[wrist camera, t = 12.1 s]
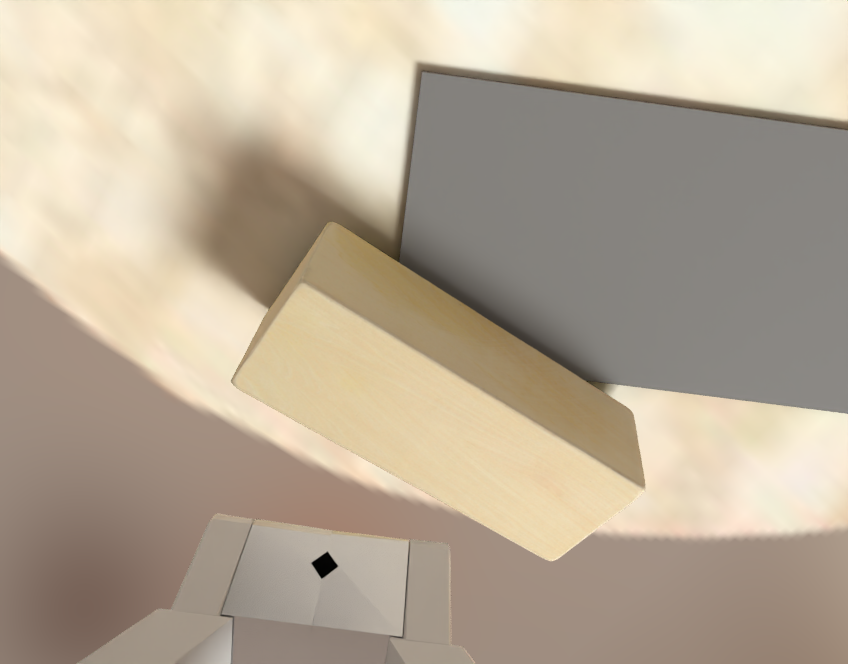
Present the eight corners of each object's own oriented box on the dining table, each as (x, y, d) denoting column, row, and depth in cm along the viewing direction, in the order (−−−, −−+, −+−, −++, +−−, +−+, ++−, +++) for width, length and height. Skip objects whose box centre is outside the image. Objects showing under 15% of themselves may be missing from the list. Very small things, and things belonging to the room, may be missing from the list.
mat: (388, 351, 45) (387, 355, 45) (422, 71, 38) (421, 72, 38) (847, 409, 46) (851, 414, 45) (959, 145, 39) (965, 146, 39)
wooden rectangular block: (267, 309, 45) (550, 475, 49) (226, 387, 39) (553, 567, 43) (332, 209, 40) (635, 401, 45) (297, 279, 34) (651, 492, 39)
